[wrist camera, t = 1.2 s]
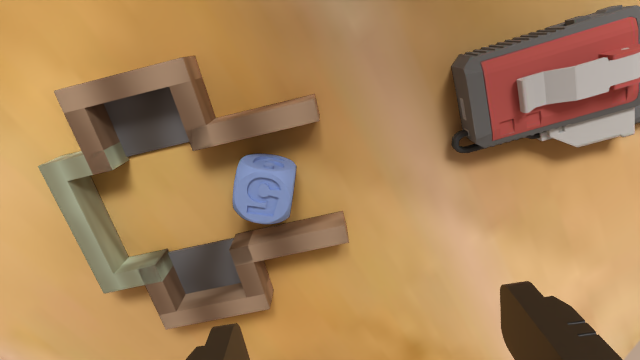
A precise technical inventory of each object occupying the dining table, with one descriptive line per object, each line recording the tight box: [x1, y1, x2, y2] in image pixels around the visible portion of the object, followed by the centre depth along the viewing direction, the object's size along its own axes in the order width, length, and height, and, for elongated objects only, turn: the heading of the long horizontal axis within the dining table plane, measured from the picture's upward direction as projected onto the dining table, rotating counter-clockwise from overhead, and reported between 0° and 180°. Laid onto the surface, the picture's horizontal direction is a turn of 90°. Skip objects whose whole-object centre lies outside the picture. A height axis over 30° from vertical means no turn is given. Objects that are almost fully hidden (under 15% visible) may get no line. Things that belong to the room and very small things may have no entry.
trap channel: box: [38, 56, 349, 329], centre depth 29 cm, size 20×20×2 cm
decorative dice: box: [233, 154, 297, 224], centre depth 28 cm, size 4×4×4 cm
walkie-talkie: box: [451, 5, 640, 153], centre depth 25 cm, size 9×4×20 cm
